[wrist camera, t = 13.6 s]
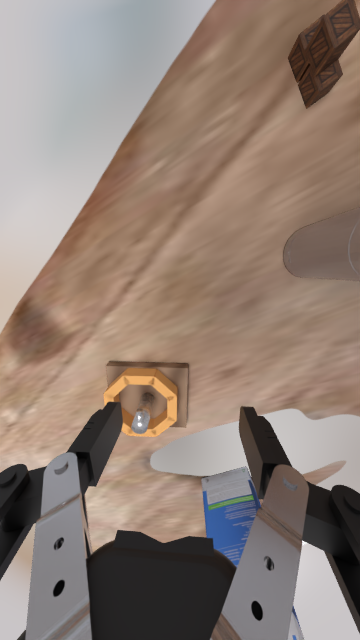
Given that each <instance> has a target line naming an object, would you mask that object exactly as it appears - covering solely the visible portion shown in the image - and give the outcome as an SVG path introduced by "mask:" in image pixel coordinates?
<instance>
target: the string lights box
mask: <svg viewBox="0 0 360 640" xmlns="http://www.w3.org/2000/svg"><path fill="white" fill-rule="evenodd" d="M201 480H202V489H203V501H204V512H205V523H206V535H207V538H213V545H214V549H216V550H218V551H219V552H221V553H222V554H224V555H225V556H226V557H227V558H228V559H230V560H231V561H232V563H233V564H234V565H235V566H236V567H238V564H239V561H240V558H241V555H242V553H243V550H244V547H245V544H246V541H247V539H248V536H249V533H250V530H251V527H252V524H253V522H254V519H255V516H256V513H257V511H258V509H259V507H261V505H260V502H259V499H258V497H257V493H256V490H255V487H254V484H253V481H252V479H251V476H250V474H249V471H248V469H247V467H246V466H245V467H242V468H239V469H234V470H231V471H227V472H224V473H220V474H216V475H212V476H209V477H205V478H202V479H201ZM288 640H304V638H303V634H302V631H301V628H300V625H299V622H298V619H297V615H296V612H295V609H294V606H293V608H292V615H291V622H290V628H289V635H288Z"/></svg>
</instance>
